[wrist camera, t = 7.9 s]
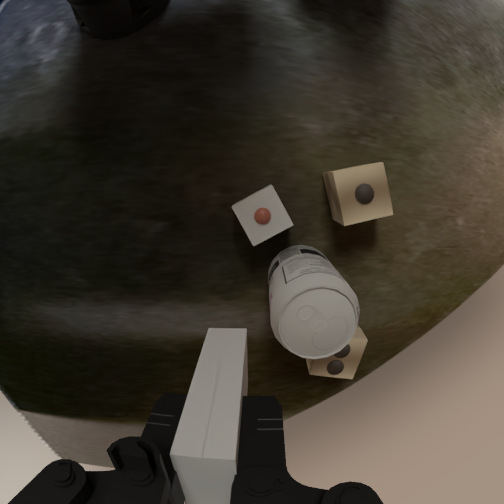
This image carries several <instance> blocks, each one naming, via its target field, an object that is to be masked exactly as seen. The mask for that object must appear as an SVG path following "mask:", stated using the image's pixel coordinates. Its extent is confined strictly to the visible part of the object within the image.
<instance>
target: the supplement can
mask: <svg viewBox="0 0 504 504" xmlns="http://www.w3.org/2000/svg"><path fill="white" fill-rule="evenodd" d="M268 290H269V306H270V322H271V327H272V329H273V332H274V335H275V338H276V339H277V340H278V341H279V342H280V343H281V344H282V346H283V347H284V348H286V349H288V350H289V351H290V352H292V353H294V354H296V355H298V356H300V357H302V358H309V359H320V358H326V357H329V356H331V355H333V354H335V353H337V352H339V351H341V350H342V349H343V348H344V347H345V346H346V345H347V344H348V343H349V342H350V341H351V339H352V337H353V335H354V333H355V331H356V328H357V325H358V319H359V313H360V308H359V304H358V299H357V296H356V295H355V293H354V292H353V290H352V289H351V287H350V286H349V285H348V283H347V282H346V281H345V280H344V278H343V277H342V276H341V275H340V274H339V272H338V271H337V270H336V269H335V268H334V266H333V265H332V264H331V263H330V262H329V260H328V259H327V258H326V257H325V256H324V254H323V253H322V252H320V251H319V250H317V249H315V248H314V247H311V246H306V245H296V246H290V247H288V248H286V249H285V250H283V251H281V252H280V253H279V254H278V255H277V256H276V257H275V258H274V259H273V260H272V263H271V265H270V268H269V270H268Z"/></svg>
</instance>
